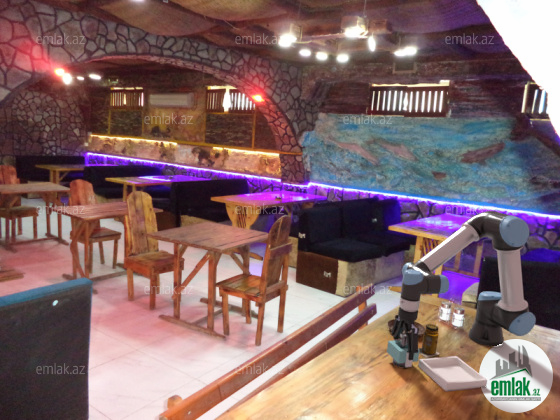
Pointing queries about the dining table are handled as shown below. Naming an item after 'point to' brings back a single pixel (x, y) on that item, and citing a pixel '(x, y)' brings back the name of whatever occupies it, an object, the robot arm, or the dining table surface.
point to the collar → (399, 352)
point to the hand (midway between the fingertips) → (401, 360)
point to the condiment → (429, 341)
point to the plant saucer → (417, 325)
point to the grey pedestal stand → (403, 346)
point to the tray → (452, 373)
